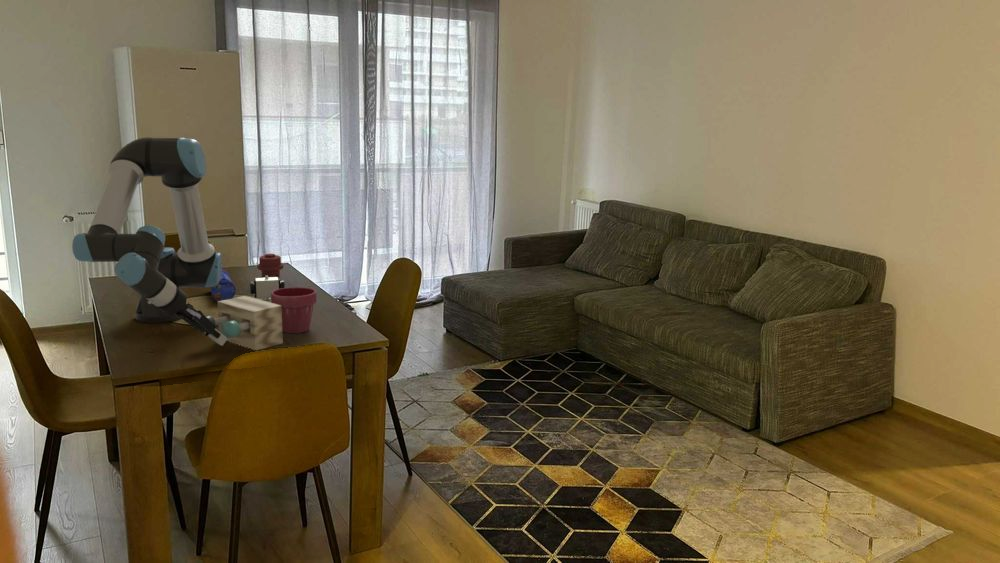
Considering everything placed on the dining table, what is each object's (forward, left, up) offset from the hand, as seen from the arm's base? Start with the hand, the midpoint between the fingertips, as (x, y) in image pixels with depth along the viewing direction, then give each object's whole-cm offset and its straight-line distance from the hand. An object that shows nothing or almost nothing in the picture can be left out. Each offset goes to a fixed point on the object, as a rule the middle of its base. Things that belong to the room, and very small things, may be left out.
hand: (223, 341), depth 228 cm
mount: (+4, +13, -4) cm, 15 cm away
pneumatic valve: (+1, +52, -4) cm, 52 cm away
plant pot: (+15, +26, -4) cm, 31 cm away
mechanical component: (-6, +89, -4) cm, 90 cm away
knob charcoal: (-4, +11, +1) cm, 12 cm away
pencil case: (-20, +69, -4) cm, 72 cm away
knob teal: (+5, +6, +1) cm, 7 cm away
